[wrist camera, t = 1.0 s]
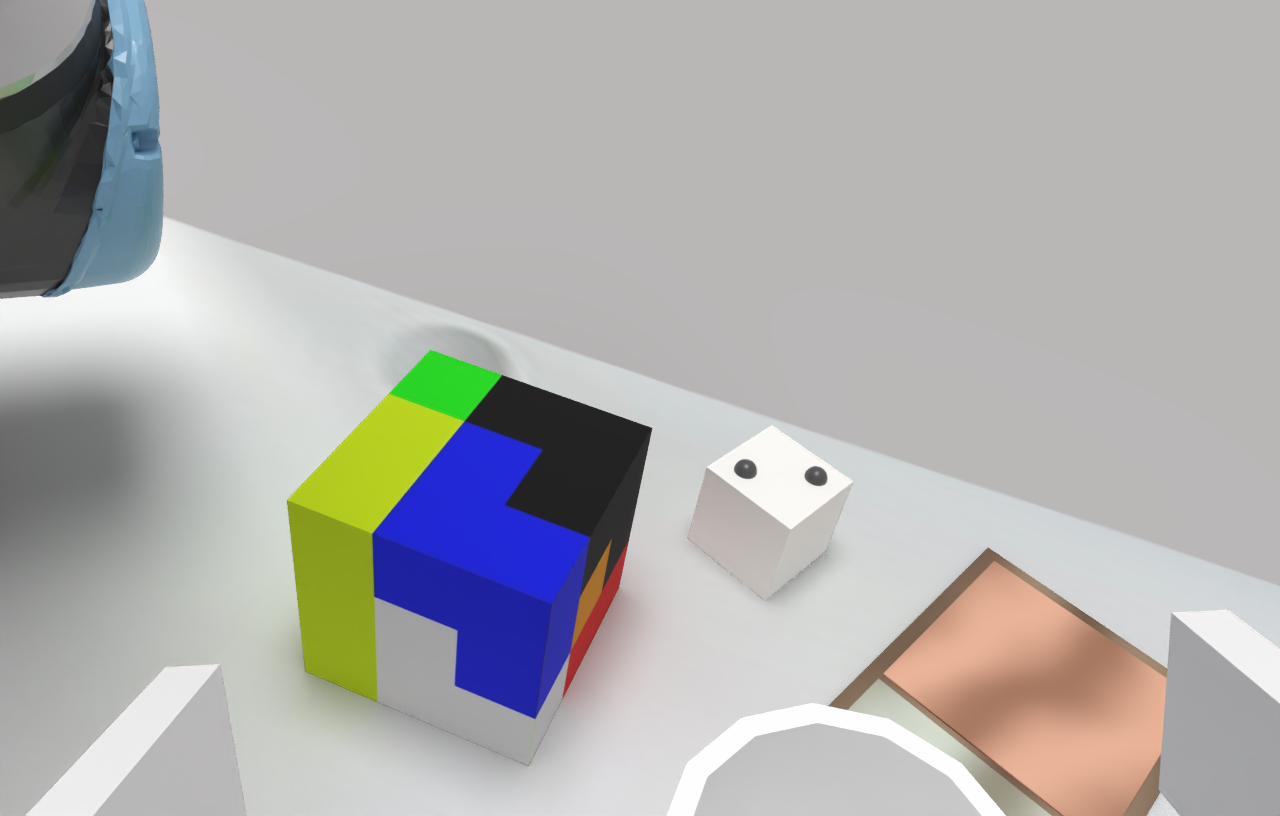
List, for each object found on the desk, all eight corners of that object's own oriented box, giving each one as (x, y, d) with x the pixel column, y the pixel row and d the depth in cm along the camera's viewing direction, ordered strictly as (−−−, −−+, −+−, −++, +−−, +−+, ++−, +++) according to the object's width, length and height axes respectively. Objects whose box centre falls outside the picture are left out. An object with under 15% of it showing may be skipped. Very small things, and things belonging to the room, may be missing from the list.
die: (687, 539, 50) (709, 458, 46) (749, 496, 53) (774, 416, 49) (764, 601, 47) (793, 521, 44) (825, 552, 50) (856, 473, 47)
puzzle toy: (528, 767, 39) (552, 604, 33) (305, 672, 41) (287, 500, 34) (618, 588, 47) (652, 428, 40) (427, 514, 48) (430, 349, 42)
